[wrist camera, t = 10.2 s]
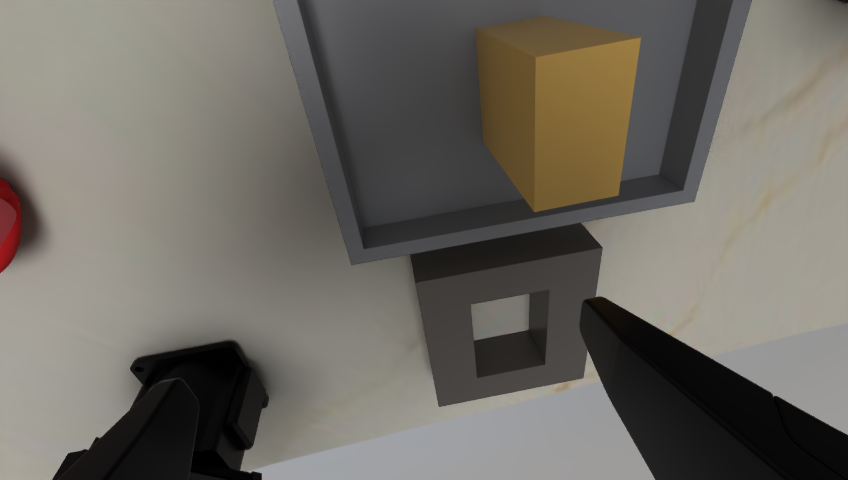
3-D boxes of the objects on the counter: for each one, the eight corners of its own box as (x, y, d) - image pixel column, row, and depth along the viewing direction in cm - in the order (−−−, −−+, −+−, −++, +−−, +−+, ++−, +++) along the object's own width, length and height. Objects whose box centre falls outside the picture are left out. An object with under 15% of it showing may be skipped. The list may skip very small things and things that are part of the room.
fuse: (483, 141, 20) (534, 212, 14) (475, 28, 17) (535, 57, 11) (542, 130, 20) (618, 195, 14) (545, 15, 17) (641, 37, 11)
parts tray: (352, 238, 22) (351, 265, 20) (261, -82, 14) (245, -91, 12) (664, 181, 23) (694, 201, 21) (741, -156, 15) (802, -177, 13)
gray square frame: (432, 370, 29) (438, 406, 27) (409, 250, 23) (415, 282, 21) (564, 344, 30) (583, 378, 27) (577, 218, 24) (602, 247, 21)
